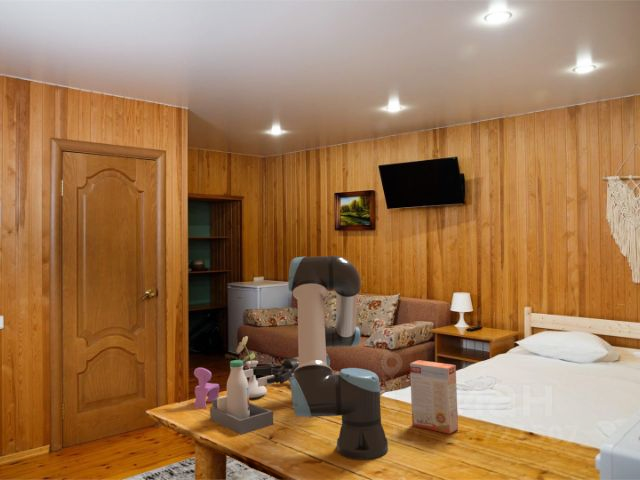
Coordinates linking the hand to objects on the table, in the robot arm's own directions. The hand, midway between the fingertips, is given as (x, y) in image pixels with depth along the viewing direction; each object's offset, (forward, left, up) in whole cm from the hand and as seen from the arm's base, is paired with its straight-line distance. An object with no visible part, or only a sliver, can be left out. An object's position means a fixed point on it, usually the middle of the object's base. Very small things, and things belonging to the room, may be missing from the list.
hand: (247, 379), depth 191 cm
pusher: (+5, +5, -12) cm, 14 cm away
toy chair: (+25, +4, -14) cm, 29 cm away
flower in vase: (+21, -14, -14) cm, 29 cm away
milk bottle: (-1, +5, -13) cm, 14 cm away
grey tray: (-2, +5, -14) cm, 15 cm away
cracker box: (-53, -37, -14) cm, 67 cm away
